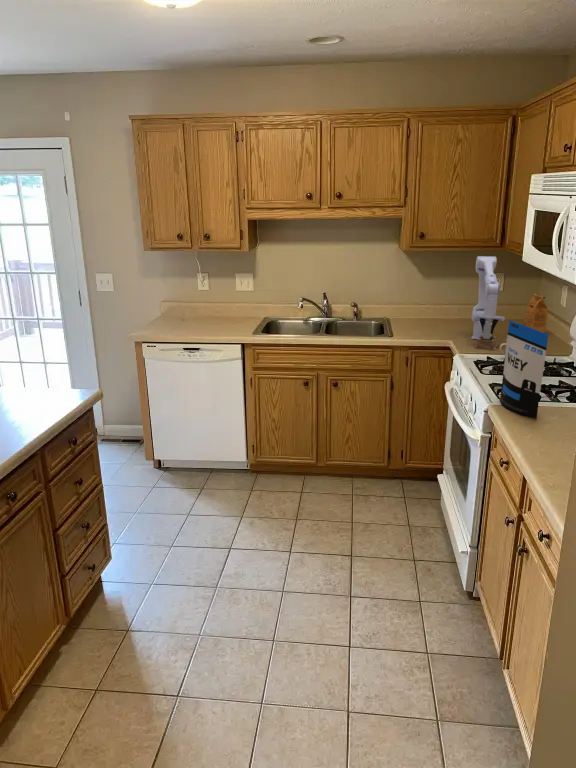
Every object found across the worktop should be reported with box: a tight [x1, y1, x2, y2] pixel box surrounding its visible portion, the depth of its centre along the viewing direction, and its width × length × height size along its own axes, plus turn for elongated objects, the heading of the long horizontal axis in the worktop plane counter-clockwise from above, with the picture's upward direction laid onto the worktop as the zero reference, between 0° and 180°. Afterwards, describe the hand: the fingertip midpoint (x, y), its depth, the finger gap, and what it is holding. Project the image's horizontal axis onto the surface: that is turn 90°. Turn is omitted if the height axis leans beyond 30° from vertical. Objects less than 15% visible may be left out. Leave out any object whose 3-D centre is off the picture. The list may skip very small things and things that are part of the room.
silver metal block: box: [483, 322, 493, 339], centre depth 297 cm, size 8×4×7 cm, turn 154°
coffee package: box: [523, 293, 549, 333], centre depth 327 cm, size 10×12×22 cm
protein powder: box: [499, 319, 549, 420], centre depth 206 cm, size 10×24×30 cm, turn 10°
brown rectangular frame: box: [474, 335, 499, 351], centre depth 299 cm, size 13×10×4 cm
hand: (487, 333), depth 297 cm, fingers closed on silver metal block, 3 cm apart
